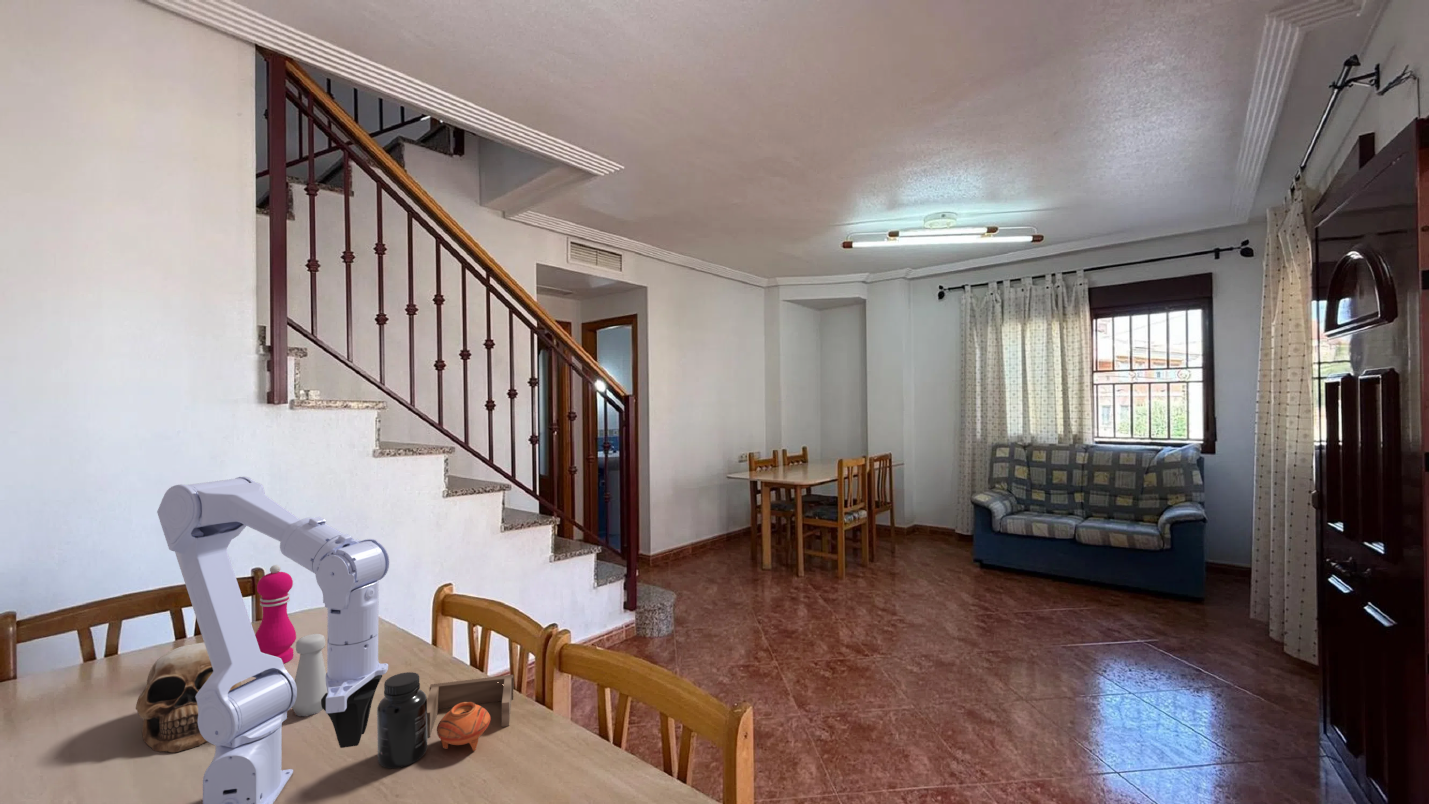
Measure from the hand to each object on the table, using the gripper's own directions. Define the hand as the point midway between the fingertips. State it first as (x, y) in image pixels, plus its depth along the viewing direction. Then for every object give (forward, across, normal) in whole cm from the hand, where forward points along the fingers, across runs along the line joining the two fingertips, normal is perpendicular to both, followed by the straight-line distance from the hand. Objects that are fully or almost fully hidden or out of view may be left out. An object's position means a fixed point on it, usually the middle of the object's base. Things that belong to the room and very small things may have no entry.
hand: (352, 739), depth 78 cm
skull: (+11, +33, +33) cm, 48 cm away
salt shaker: (+11, +32, +15) cm, 37 cm away
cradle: (+10, +23, -12) cm, 28 cm away
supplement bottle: (+11, +13, -3) cm, 17 cm away
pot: (+11, +14, -12) cm, 21 cm away
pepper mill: (+11, +56, +29) cm, 64 cm away
